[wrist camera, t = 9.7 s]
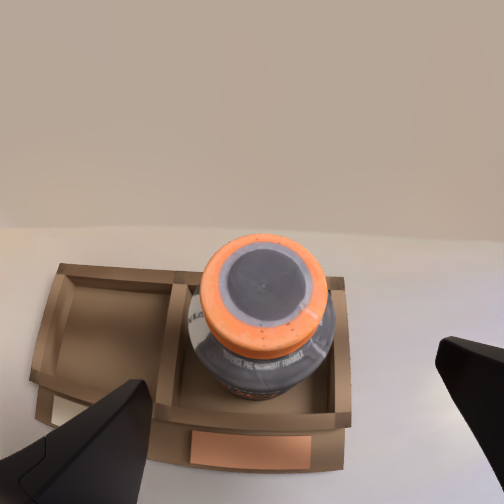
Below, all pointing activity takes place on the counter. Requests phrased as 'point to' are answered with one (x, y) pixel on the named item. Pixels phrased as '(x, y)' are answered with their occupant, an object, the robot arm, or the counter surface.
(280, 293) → the pill bottle
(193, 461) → the socket frame
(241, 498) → the counter surface
